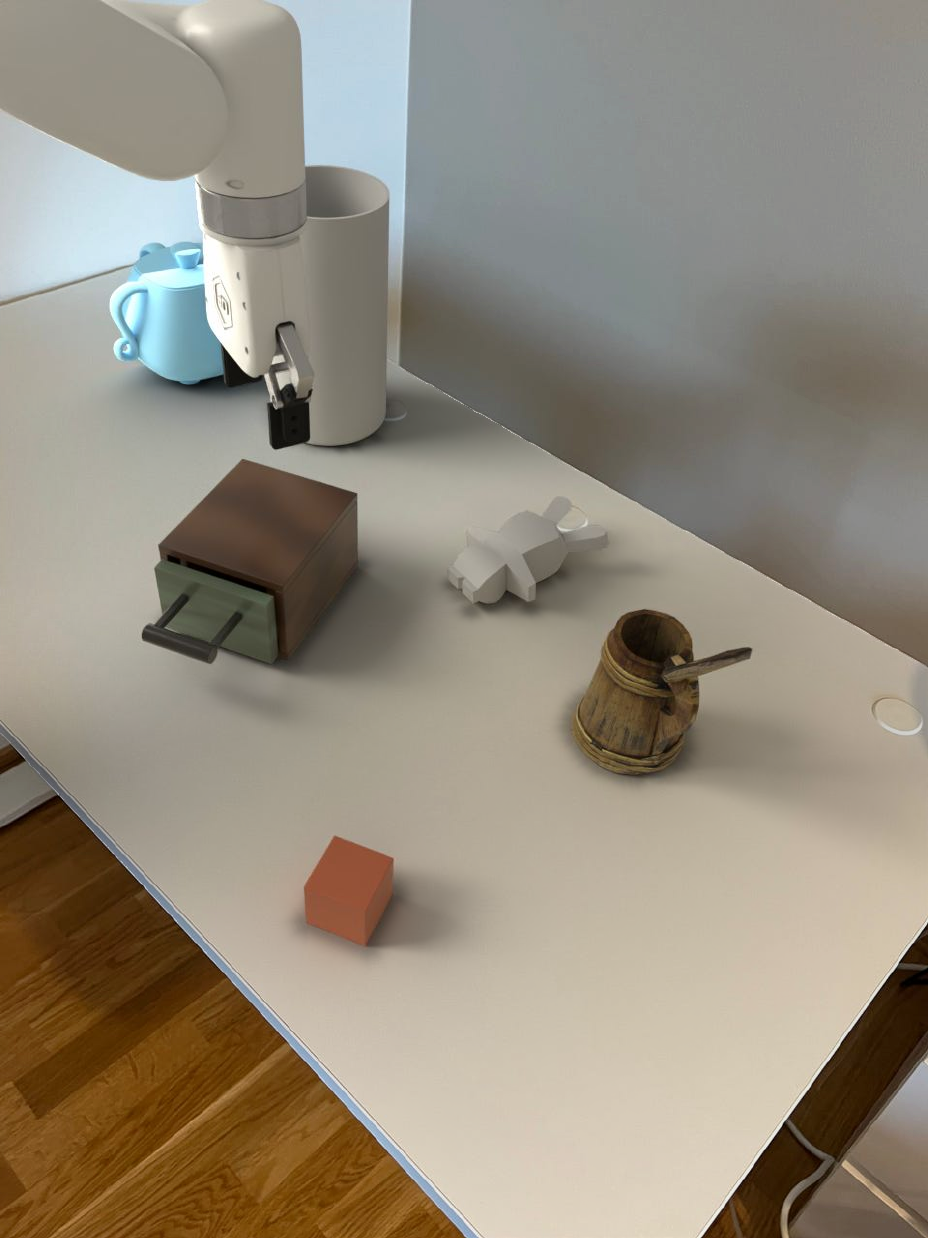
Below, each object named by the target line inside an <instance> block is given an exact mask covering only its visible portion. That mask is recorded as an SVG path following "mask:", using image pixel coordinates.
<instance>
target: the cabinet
mask: <svg viewBox="0 0 928 1238" xmlns="http://www.w3.org/2000/svg"><path fill="white" fill-rule="evenodd" d="M358 510H359V509H358V492H355V491H352V490H348V489H345V488H342V487H338V486H335V485H333V484H332V485H331V484H329V483H325V482H321V481H318V480H314V479H312V478H308V477H305V476H301V475H300V474H299V475H298V474H295V473H291V472H289V471H286V470H282V469H279V468H275V467H272V466H269V465H265V464H262V463H260V462H255V461H252V460H249V459H245V458H241V459H240V460H239V461H238V462H237V464H235V465H234V467H232V469H230V471H229V472H228V473H227V474H226V475H225V476H223V478H222V479H221V480H219V482H218V483H217V484H216V485H215V486H214V487H213V488H212V489H211V490H210V491H209V492H208V493H207V494H206V495H205V496H204V497H203V498H202V499H201V500H200V501H199V502H198V503H197V504H196V505H195V506H194V508H192V509H191V510H190V512H189V513H187V515H185V516H184V518H183V519H182V520H180V522H179V523H178V524H176V526H175V527H173V529H172V530H171V531H170V532H169V533H168V534H167V535H166V536H165V537H164V538H163V539H162V540H161V541H160V542H158V544H157V546H158V552H159V558H160V561H161V560H162V559H163V560H166V561H169V562H172V563H175V564H178V565H180V559H183V560H186V561H189V562H192V563H195V564H198V565H201V566H204V567H207V568H210V569H213V570H216V571H219V572H222V573H225V574H228V575H231V576H234V577H237V578H240V579H243V580H246V581H249V582H252V583H255V584H258V585H261V586H264V587H267V588H270V589H273V590H276V591H275V593H276V606H277V619H278V632H279V640H278V639H277V644H278V656H277V658H280V659H283V660H287V661H289V660H290V659H292V656H293V655H294V654H295V652H296V651H297V649H298V648H299V647H300V646H301V644H302V643H303V642H304V640H305V638H306V637H307V636H308V635H309V633H310V632H311V631H312V630H313V628H314V626H315V625H316V624H317V623H318V621H319V619H321V617H322V616H323V614H324V613H325V611H326V610H327V609H328V608H329V606H330V605H331V603H332V602H333V601H334V599H335V598H336V596H337V595H338V594H339V593H340V592H341V590H342V588H343V587H344V586H345V585H346V584H347V582H348V580H349V579H350V578H351V576H352V574H354V572H355V571H356V569H357V568H358V567H359V550H358V549H359V542H358V541H359V539H358V538H359V537H358V536H359V535H358V534H359V531H358V530H359V527H358V524H359V523H358V521H359V520H358V515H359V514H358V513H359V512H358ZM179 558H180V559H179Z"/></svg>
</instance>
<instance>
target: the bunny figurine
mask: <svg viewBox="0 0 928 1238" xmlns="http://www.w3.org/2000/svg"><path fill="white" fill-rule="evenodd" d="M572 508H573V503H572V501H571V500H570V499H569V498H567V497H565V496H563V495H562V496H555V497H554V498H552V500H551V501H550V503H549V504H548V505H547V506H546V508H545V510H544V512H543V513H542V515H539V514H536V513H535V512H532V511H530V510H528V509H526V510H523V511H521V512H518V513H516V514H515V515H513V516H511V517H510V518H508V519H507V520H506V521H505V522H504V523H502V525H501V526H500V527H499V529H498V531H497V532H496V531H493V530H488V529H485V528H481V527H477V526H473V525H472V526H470V527H469V528H468V529H467V530H466V531H465V538H466V539H465V540H466V542H465V543H466V546H465V547H464V548H463V549H462V550H461V552H460V553H459V554H458V555H457V557H456V558H455V560H454V561H453V563H452V565H450V566H449V567H447V581H449V583H451V584H452V585H453V586H454V587H455V588H456V589H457V590H462V595H463V596H465V598H466V599H468V600H469V601H470V603H471V604H476V603H478V602H479V603H480V602H481V603H484V604H487V605H488V604H495V603H497V601H500V600H501V599H502V597H503V596H504V594H505V592H506V591H507V592H510V593H512V594H514V595H515V596H516V597H518V598H520V599H521V600H524V601H525V602H527V603H530V602H533V601H535V600H536V594H537V593H536V591H537V590H536V589H537V583H539V582H541V581H543V580H546V579H548V578H549V577H551V576H552V575H554V574H555V573H556V572H558V571H559V569H560V567H561V566H562V564H563V563H564V560H566V558H567V556H568V554H569V553H573V552H589V551H601V550H604V549H607V548H608V546H609V544H610V540H609V537H608V533H607V530H606V528H605V527H604V526H602V525H598V524H594V525H592V524H591V525H586V526H584V527H580V528H575V529H572V530H568V531H564V532H561V531H560V529H559V528H558V526H557V525H558V524H559V523H560V522H561V521H562V520H563V519H564V518H565V517H566V516H567V515H568V514H569V513H570V512H571V511H572Z"/></svg>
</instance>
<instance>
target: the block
mask: <svg viewBox="0 0 928 1238" xmlns="http://www.w3.org/2000/svg"><path fill="white" fill-rule="evenodd" d="M394 860H395V859H394V857H392V856H390V855H387V854H384V853H382V852H379V851H376V850H374V849H371V848H368V847H366V846H364V845H360V844H358V843H355V842H353V841H350V840H347V839H345V838H342V837H340V836H338V835H334V836H333V837H332V838H331V840H330V842H329V844H328V845H327V847H326V849H325V850H324V852H323V854H322V855H321V857H320V858H319V860H318V862H317V864H316V865H315V868H313V871H312V873H311V874H310V876H309V877H308V879H307V881H306V883H305V884H304V885H303V895H304V897H303V898H304V906H305V907H304V910H305V922H306V923H307V924H309V925H311V926H313V927H316V928H318V929H321V930H323V931H326V932H327V933H330V934H333V935H336V936H338V937H340V938H343V939H346V940H348V941H350V942H353V943H355V944H358V945H359V946H363V947H366V946H367V944H368V942H369V940H370V938H371V936H372V935H373V932H374V931H375V929H376V927H377V925H378V924H379V922H380V919H381V917H382V915H383V913H384V911H385V909H386V908H387V905H388V903H389V901H390V900H391V897H392V896H393V891H394V890H393V887H394Z"/></svg>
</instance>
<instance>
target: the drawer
mask: <svg viewBox="0 0 928 1238" xmlns="http://www.w3.org/2000/svg"><path fill="white" fill-rule="evenodd" d="M179 559H180V558H179ZM153 569H154V570H153V571H154V575H155V579H156V587H157V593H158V597H159V603H160V604H159V605H160V609H161V616H160V617H159V618H158V619H157V620H156V621H155V622H154V623H150V622H149V623H147V624H146V625H145V626H144V627H143V629H142V631H141V640H142V641H143V642H144V643H148V644H151V645H153V646H156V647H159V648H162V649H164V650H168V651H171V652H174V653H176V654H178V655H182V656H185V657H187V658H190V659H194V660H196V661H199V662H201V663H205V664H207V665H212V664H213V663H214V662H215V660H216V659H217V656H218V650H219V648H220V647H222V648H225V649H227V650H230V651H233V652H236V653H239V654H241V655H243V656H247V657H250V658H253V659H256V660H259V661H261V662H265V663H267V664H270V665H272V664H273V663H274V661H275V660H276V659H277V658H278V657H277V656H278V644H277V639H278V640H279V632H278V619H277V606H276V593H275V591H276V590H273V589H270V588H267V587H264V586H261V585H258V584H255V583H252V582H249V581H246V580H243V579H240V578H237V577H234V576H231V575H228V574H225V573H222V572H219V571H216V570H213V569H210V568H207V567H204V566H201V565H198V564H195V563H192V562H189V561H186V560H183V559H180V565H178V564H175V563H172V562H169V561H166V560H163V559H162V560H161V559H160V560H159V562H158V563H157V564H156V565H154V566H153Z"/></svg>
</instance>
